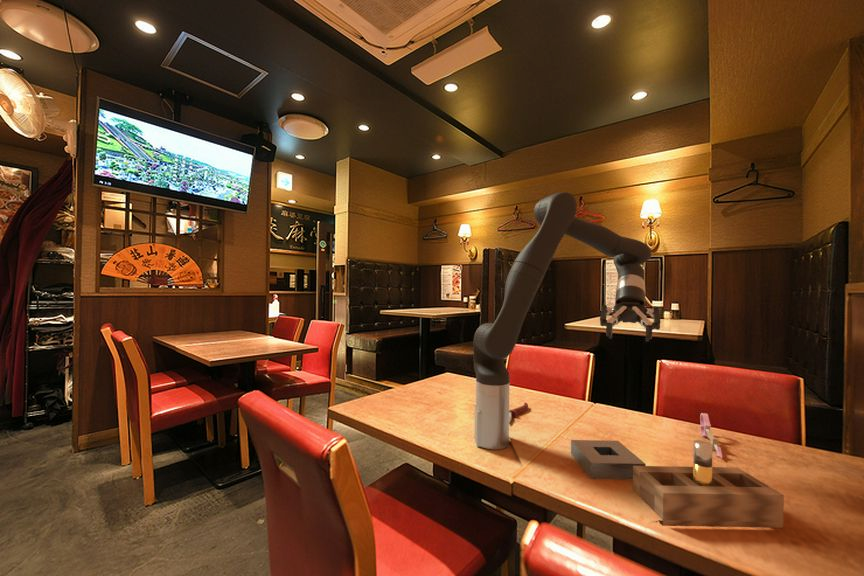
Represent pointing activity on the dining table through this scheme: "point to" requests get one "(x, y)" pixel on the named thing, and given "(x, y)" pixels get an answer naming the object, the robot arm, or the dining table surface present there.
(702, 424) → the decorative key
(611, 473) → the socket block
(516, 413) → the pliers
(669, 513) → the vial rack
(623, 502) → the dining table surface
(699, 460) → the gold clear cylinder
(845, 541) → the dining table surface
